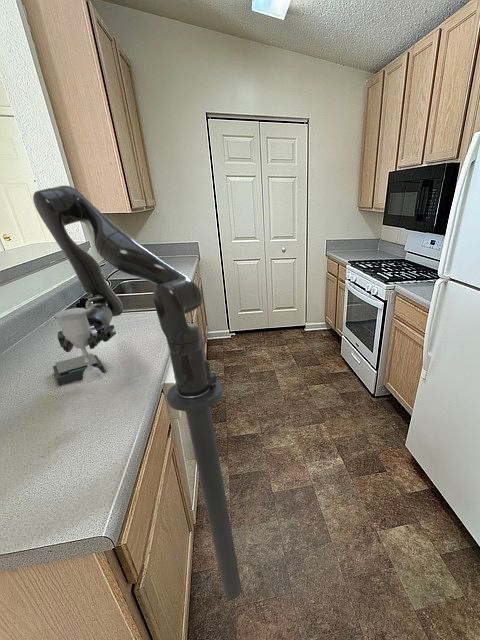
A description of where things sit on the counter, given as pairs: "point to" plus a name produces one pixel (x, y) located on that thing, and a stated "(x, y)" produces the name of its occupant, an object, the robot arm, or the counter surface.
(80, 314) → the chalice
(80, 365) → the pan
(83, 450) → the counter surface
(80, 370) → the scale
